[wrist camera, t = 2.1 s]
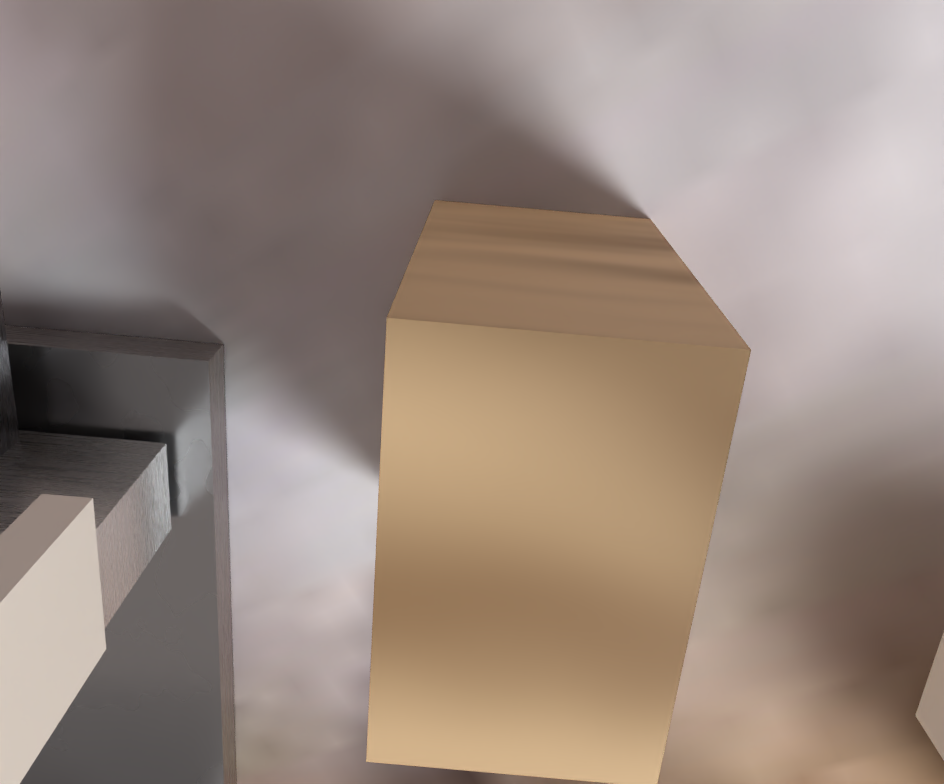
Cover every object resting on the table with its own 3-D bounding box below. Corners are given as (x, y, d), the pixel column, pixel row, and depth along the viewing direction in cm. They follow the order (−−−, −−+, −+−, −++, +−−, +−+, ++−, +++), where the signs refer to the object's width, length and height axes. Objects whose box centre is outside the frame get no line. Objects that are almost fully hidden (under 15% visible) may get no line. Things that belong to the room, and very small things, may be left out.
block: (435, 199, 20) (386, 318, 12) (650, 218, 20) (750, 349, 12) (415, 501, 23) (365, 761, 15) (602, 517, 23) (656, 787, 15)
